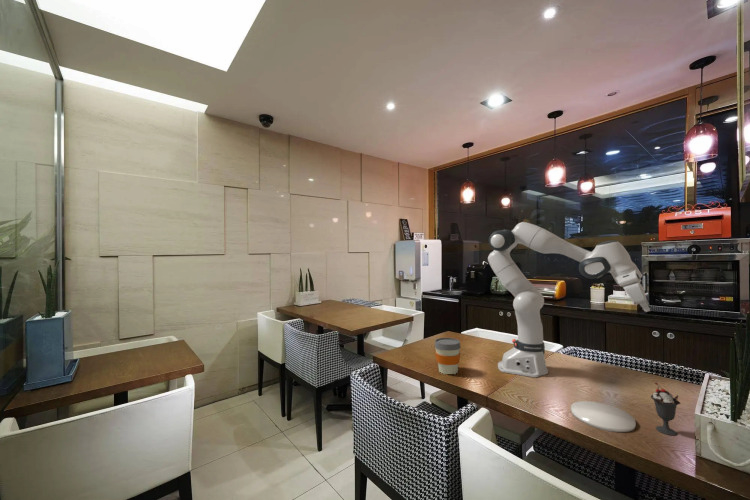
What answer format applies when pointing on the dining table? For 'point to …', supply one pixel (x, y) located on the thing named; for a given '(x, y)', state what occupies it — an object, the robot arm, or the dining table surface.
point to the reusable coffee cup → (447, 355)
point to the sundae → (665, 409)
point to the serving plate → (603, 416)
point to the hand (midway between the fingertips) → (647, 307)
